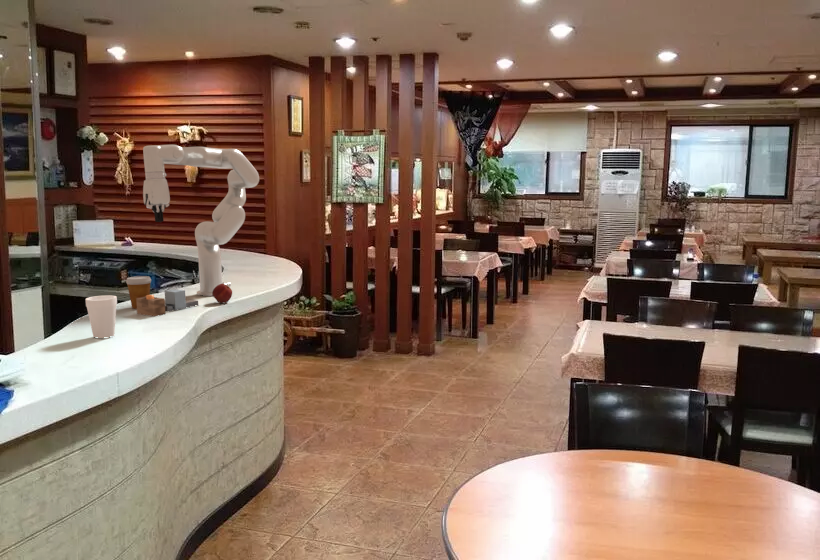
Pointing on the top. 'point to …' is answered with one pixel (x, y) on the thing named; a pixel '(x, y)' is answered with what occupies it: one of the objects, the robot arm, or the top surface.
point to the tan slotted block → (150, 306)
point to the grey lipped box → (175, 298)
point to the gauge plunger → (149, 297)
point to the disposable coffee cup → (138, 288)
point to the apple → (222, 293)
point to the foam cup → (102, 315)
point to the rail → (188, 303)
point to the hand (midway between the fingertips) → (159, 221)
